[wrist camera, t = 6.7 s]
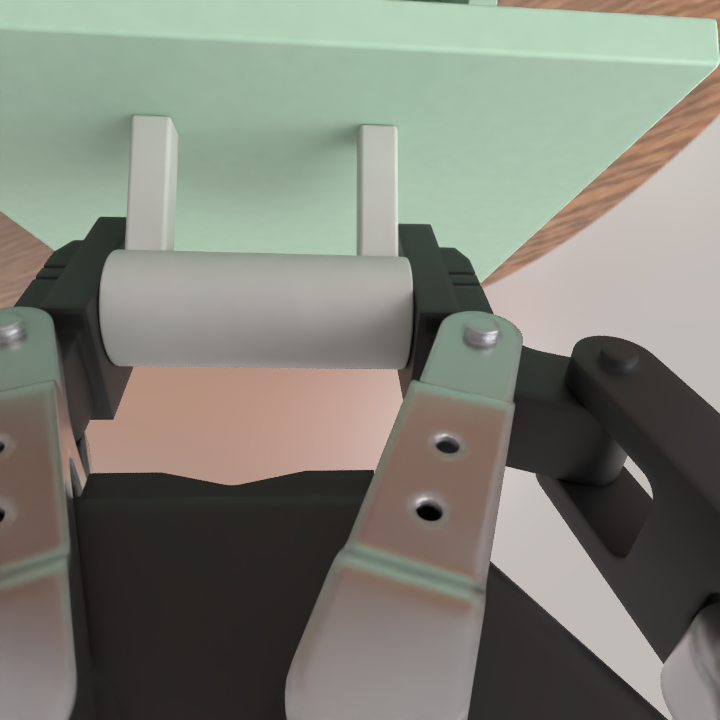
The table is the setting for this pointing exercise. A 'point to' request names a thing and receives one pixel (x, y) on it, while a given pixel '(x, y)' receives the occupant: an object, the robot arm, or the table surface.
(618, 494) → the robot arm
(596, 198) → the table surface
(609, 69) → the lid
